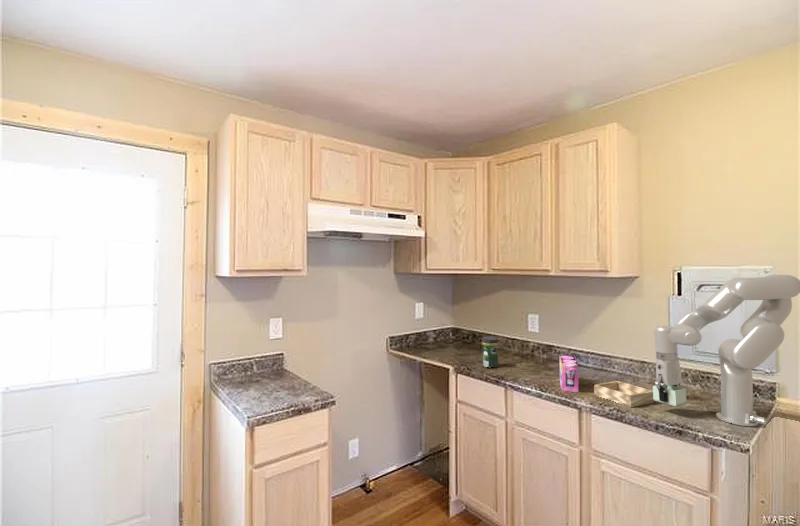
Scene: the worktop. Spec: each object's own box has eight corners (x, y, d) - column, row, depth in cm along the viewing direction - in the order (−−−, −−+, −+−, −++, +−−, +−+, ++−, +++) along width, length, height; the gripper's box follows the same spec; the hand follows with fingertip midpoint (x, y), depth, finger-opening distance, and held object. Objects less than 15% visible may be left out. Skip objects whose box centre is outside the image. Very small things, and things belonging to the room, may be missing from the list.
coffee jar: (491, 364, 245) (491, 334, 245) (500, 367, 238) (500, 336, 238) (479, 366, 240) (479, 336, 240) (488, 369, 233) (488, 338, 233)
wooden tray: (654, 402, 174) (654, 391, 175) (630, 407, 168) (630, 395, 168) (617, 391, 191) (617, 380, 191) (594, 395, 184) (594, 384, 184)
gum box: (579, 393, 187) (579, 365, 187) (561, 391, 190) (561, 363, 190) (575, 380, 210) (575, 355, 210) (559, 379, 212) (559, 354, 213)
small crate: (686, 403, 159) (685, 388, 159) (676, 406, 156) (675, 391, 156) (663, 397, 167) (662, 383, 167) (653, 400, 164) (652, 386, 164)
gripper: (663, 360, 155) (666, 405, 155) (689, 355, 163) (692, 398, 162) (644, 357, 162) (647, 400, 161) (670, 352, 169) (673, 394, 169)
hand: (669, 399), depth 162 cm, fingers closed on small crate, 7 cm apart
